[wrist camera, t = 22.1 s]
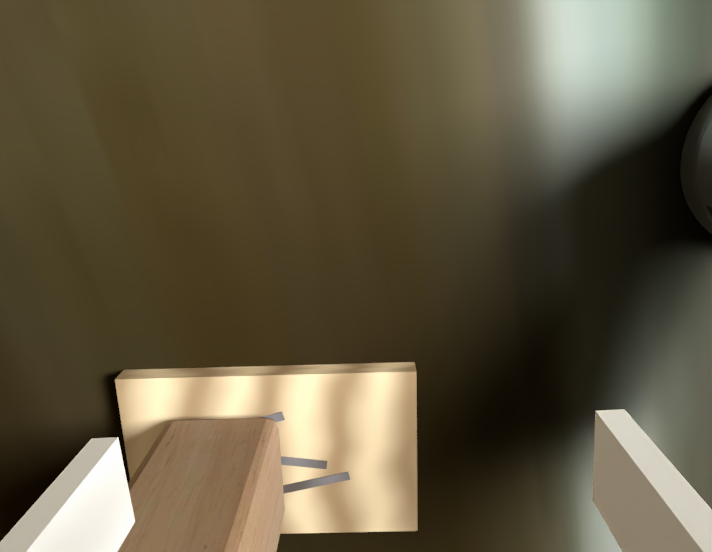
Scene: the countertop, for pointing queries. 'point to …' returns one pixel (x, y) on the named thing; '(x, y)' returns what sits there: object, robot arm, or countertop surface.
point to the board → (301, 433)
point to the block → (209, 488)
